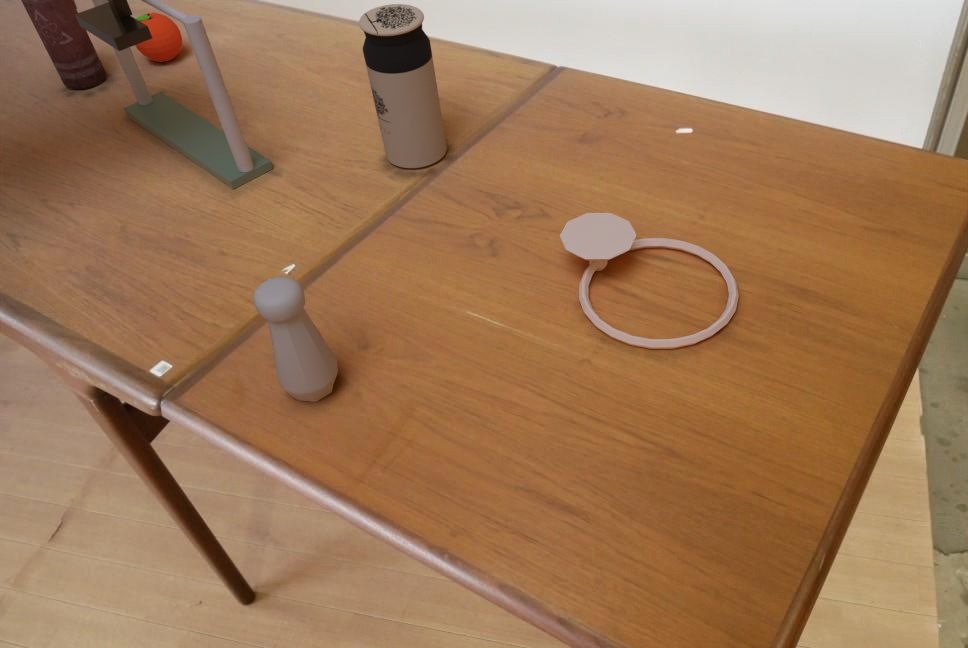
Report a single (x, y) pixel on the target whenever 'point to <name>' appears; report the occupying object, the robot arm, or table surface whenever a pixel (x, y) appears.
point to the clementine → (160, 37)
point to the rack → (187, 129)
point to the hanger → (114, 24)
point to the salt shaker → (295, 341)
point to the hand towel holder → (615, 236)
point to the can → (66, 42)
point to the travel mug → (403, 85)
